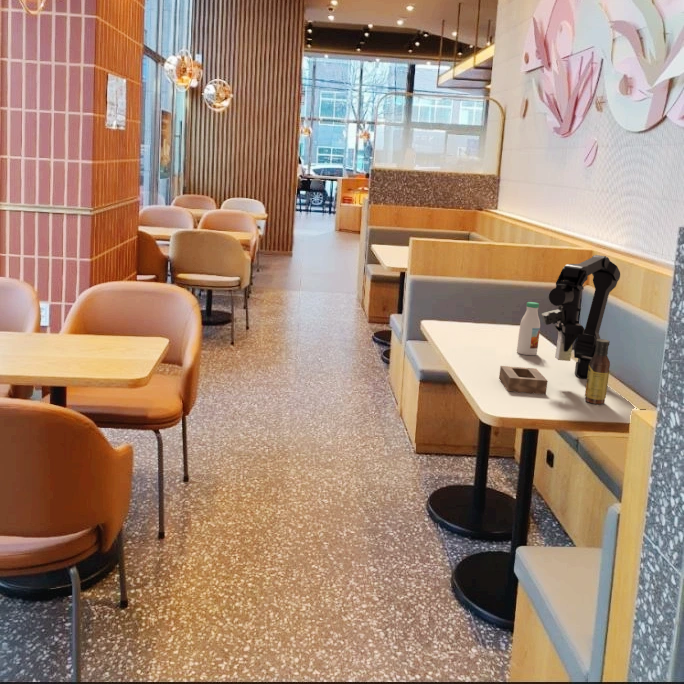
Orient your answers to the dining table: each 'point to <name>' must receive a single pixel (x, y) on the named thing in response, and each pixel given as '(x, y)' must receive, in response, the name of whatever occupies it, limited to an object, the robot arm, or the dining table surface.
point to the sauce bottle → (598, 374)
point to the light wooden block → (562, 349)
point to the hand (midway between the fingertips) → (563, 350)
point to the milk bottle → (529, 330)
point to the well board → (523, 379)
